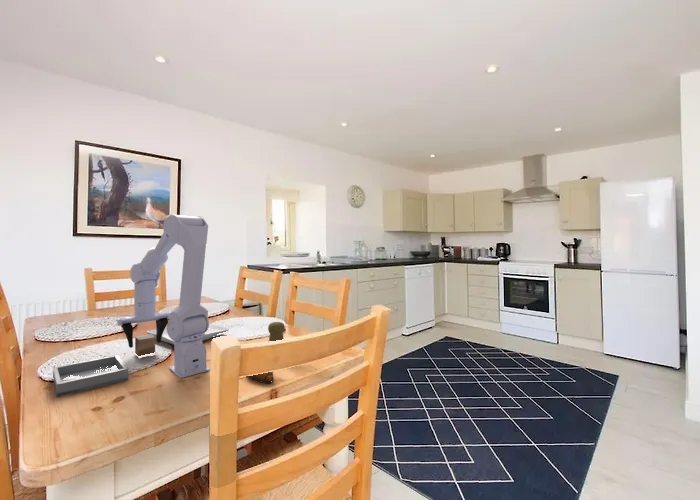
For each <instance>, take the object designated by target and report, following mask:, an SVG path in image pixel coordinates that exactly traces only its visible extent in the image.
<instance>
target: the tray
mask: <svg viewBox="0 0 700 500" xmlns="http://www.w3.org/2000/svg"><path fill="white" fill-rule="evenodd" d="M114 365H116V366H117V368H118V369H119V370H115V371H111V369H110V371H109V369H108V372H107V371H105V369H107V368H111V367H112V366H114ZM107 366H108V367H107ZM100 367H101V368H100ZM106 367H107V368H106ZM100 369H102V370H103V369H104V370H103V371H102V370H101V373H100ZM96 370H99V373H98V371H97V373H96ZM94 372H95V373H94ZM70 375H73V376H78V375H79V376H80V377H81V376H82V377H83V378H79V379H74V380H63V379H64V378H66V377H68V376H69V377H70ZM85 376H86V377H85ZM53 378H54V381H53V386H54V389H55V395H56V398H59V397H60V398H61V397H63V396H68V395H72V394H76V393H80V392H84V391H88V390H92V389H97V388H100V387H105V386H109V385H114V384H117V383H120V382H121V383H122V382H125V381H129V368H128V366H127V365H126V364H125V362H124V361H123V360H122V359H121V358H120V356H119V355H118V354H116V355H112V356H111V355H109V356H107V357H100V358H95V359H90V360H85V361H79V362H74V363H70V364H64V365H59V366H54V367H52V379H53Z"/></svg>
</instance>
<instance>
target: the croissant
mask: <svg viewBox="0 0 700 500" xmlns="http://www.w3.org/2000/svg"><path fill="white" fill-rule="evenodd" d="M248 378H249V379H252V380H255V379H257V380H256V381H257V382H260V381H262V382H261V383H263V382H271V381H273V382H274V372H273V371H272V372H268V373H263V374H258V375H253V376H248Z"/></svg>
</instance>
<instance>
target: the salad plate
mask: <svg viewBox="0 0 700 500" xmlns="http://www.w3.org/2000/svg"><path fill="white" fill-rule="evenodd" d="M209 328H210V329H218V330H223V331H219V332H214V333H209V334H205V336H203V337H202V342H203V341H208V340H211V339H212V338H211V337H213V336H217V334H219V333H223V332H226V331H227V332H229V328H227V327H224V326H220V325H217V324H213V323H209ZM227 332H226V333H227ZM146 333H147V335H149V334H152V335H153V336H154V337H155V339H156V333H157V329H156V328H155V329H151V330H146ZM217 337H218V336H217ZM210 338H211V339H210ZM161 341H162V342H165V343H168V344H170V345H173V346H174V341H173V340H172V339H171V338H170V337H169V335H168V333H167V326H166V327H165V329H164V331H163V334H162V337H161Z"/></svg>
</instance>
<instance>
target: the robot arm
mask: <svg viewBox="0 0 700 500" xmlns="http://www.w3.org/2000/svg"><path fill="white" fill-rule="evenodd" d="M162 227H163V228H162V229H163V233H162V234H161V237H160V239H159V241H158V242H157V244H156V246H155V247H152V248H149V249H148V251H147V253H146V254H145V255H144V257H143V258H142V260H140V262H138V263H133V264H132V266H131V267H130V271H129V274H130V275H129V276H130V280H131V282H133V284H134V287H133V288H134V291H133V292H134V296H133V297H134V299H133V300H134V302H133V303H134V305H133V307H134V309H133V310H134V311H133V313H134V315H130V316H125V317H119V318H116V326H117V327H121V329H122V330H123V332H124V334H125V337H126V340H127V343H128V348H131V349H132V348H133V347H134V341H133V340H134V339H133V338H134V337H133V333H134V327H133V324H138V323H145V322H153V321H155V326H156V328H155V329H157V333H156V338H155V342H157V343H158V344H159V343H161V341H162V340H161V337H162V334H163V331H164V329H165V327H167V333H168V335H169V337H170V338H171V339H172V340H173V341H174V345H173V346H174V347H173V349H174V356H173V358H174V360H173V363H174V365H171V366H169V367H168V368H169V370H171V371H172V373H174V374H175V376H177V377H178V378H180V379H181V378H186V377H190V376H193V375H196V374H201V373H204V372H208V371H210V369H211V368H209V367H208V366H207V347H206V346H205V345H204V344H203V341H202V337H203V336H205V332H207V330H208V328H209V324H210V321H209V315H208V314H209V310H208V309H207V308H206V307H204V306H203V305H202V304H201V298H202V288H203V280H204V270H205V258H206V249H207V243H208V242H207V241H208V234H209V233H208V231H209V224H208V223H207V221H206V219H205V218H204V217H202V216H193V215H180V214H174V213H170V214H169V215H167V216H166V217H165V218H164V221H163V223H162ZM175 245H179V246H180V247H181V248H182V249H183V261H182V262H183V263H182V274H181V282H180V283H181V284H180V285H181V286H180V293H179V302H178V303H179V304H178V305H177V306H176V307H174V309H173V310H172V311H171V312H170V311H167V312H156V304H157V303H156V298H157V297H156V296H157V295H156V293H157V291H156V288H157V287H158V282H159V279H160V276H161V273H160V270H161V269H162V268H163V266H164V265H165V264H166V262H167V261H168V260H169V257H168V255H169V254H168V253H169V252H170V251H171V250H172V249H173V247H174V246H175Z"/></svg>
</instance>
